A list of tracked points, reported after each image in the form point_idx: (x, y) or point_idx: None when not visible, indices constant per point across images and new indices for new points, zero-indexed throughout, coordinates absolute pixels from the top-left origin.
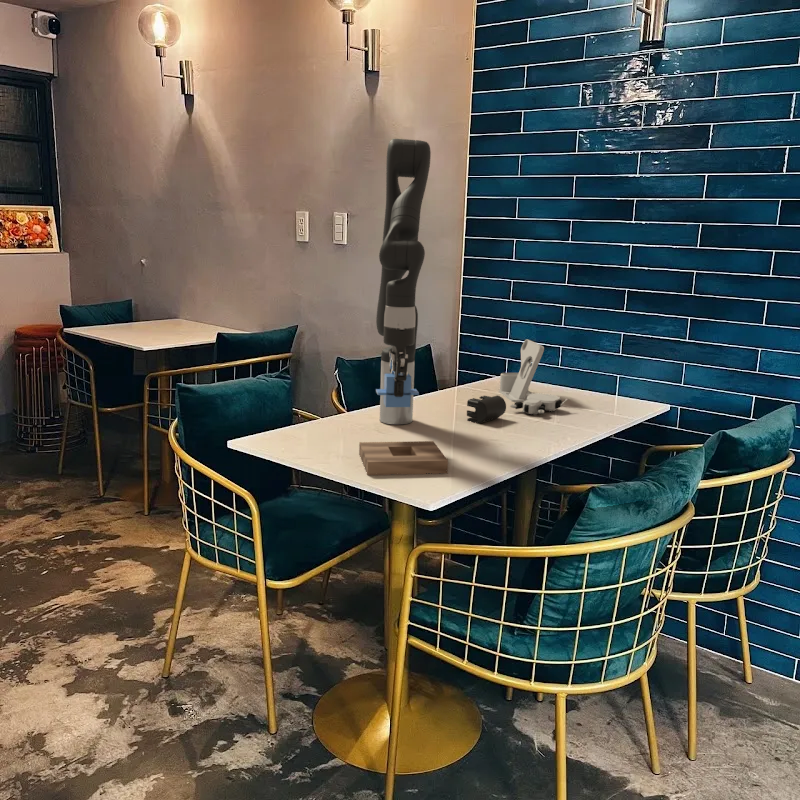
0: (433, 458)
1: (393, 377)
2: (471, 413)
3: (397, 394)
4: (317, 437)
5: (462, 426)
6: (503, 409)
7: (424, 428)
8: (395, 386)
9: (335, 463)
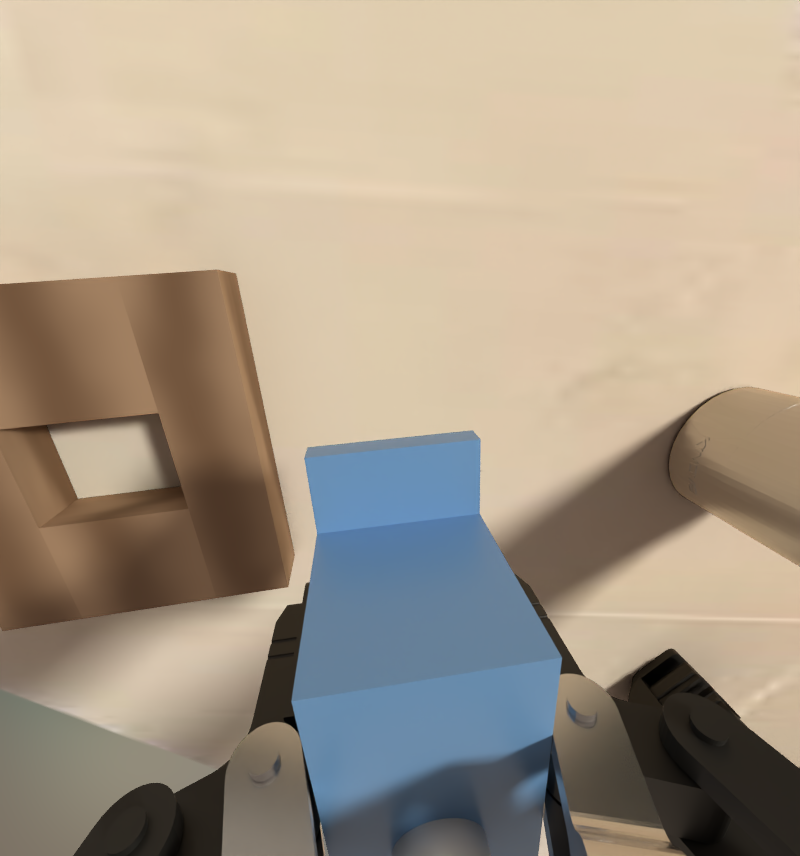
0: (13, 585)
1: (307, 763)
2: (676, 682)
3: (288, 616)
4: (535, 50)
5: (610, 636)
6: None
7: (608, 536)
8: (294, 666)
9: (47, 133)
